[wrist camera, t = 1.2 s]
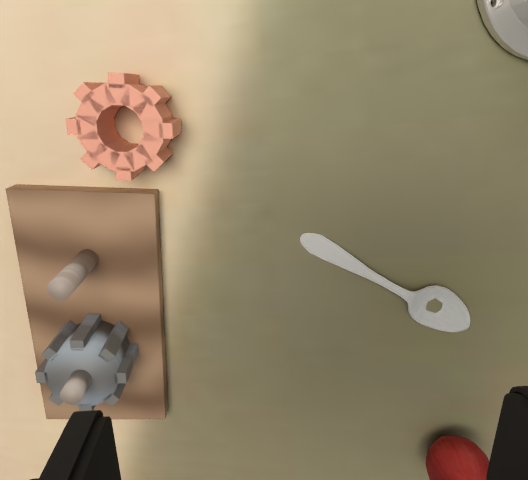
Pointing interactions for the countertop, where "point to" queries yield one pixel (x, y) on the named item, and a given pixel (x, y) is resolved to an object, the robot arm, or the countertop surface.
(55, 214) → the gear board
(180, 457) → the countertop surface
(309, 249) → the spoon
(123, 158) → the pink gear
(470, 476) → the onion
